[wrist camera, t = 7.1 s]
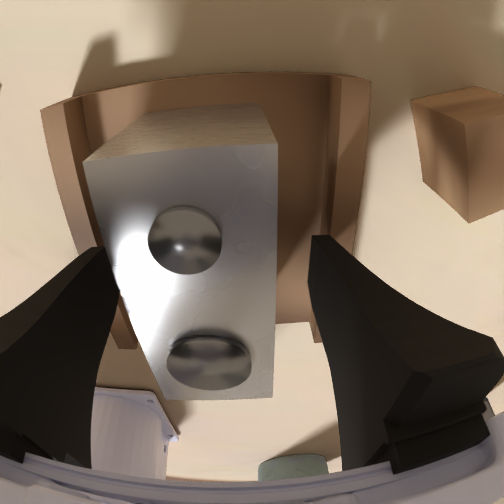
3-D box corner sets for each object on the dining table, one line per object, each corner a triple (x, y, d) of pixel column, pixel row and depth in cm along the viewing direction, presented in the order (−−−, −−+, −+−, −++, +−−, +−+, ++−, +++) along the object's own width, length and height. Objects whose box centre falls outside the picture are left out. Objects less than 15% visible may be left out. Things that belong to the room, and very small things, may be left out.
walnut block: (482, 160, 13) (532, 196, 10) (422, 180, 14) (468, 223, 10) (475, 86, 11) (534, 107, 7) (408, 100, 11) (464, 123, 8)
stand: (323, 306, 18) (333, 341, 16) (128, 314, 17) (118, 348, 15) (346, 74, 11) (371, 81, 9) (71, 97, 10) (40, 109, 8)
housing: (258, 102, 10) (280, 148, 6) (262, 297, 16) (273, 404, 11) (146, 111, 10) (76, 167, 6) (180, 301, 16) (164, 406, 11)
